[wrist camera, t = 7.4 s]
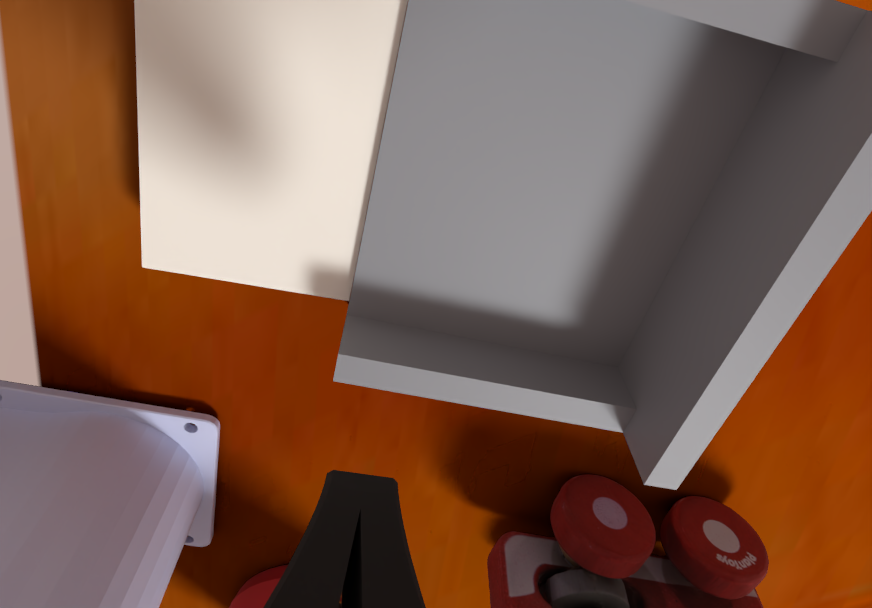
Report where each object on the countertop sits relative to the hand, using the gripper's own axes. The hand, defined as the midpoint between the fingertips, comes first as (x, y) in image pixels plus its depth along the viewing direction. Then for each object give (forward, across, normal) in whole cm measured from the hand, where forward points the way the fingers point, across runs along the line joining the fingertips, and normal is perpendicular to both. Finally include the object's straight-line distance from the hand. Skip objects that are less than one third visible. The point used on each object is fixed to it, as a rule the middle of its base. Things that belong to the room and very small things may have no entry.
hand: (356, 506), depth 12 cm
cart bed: (+9, -4, -5) cm, 11 cm away
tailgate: (+7, +1, -5) cm, 9 cm away
